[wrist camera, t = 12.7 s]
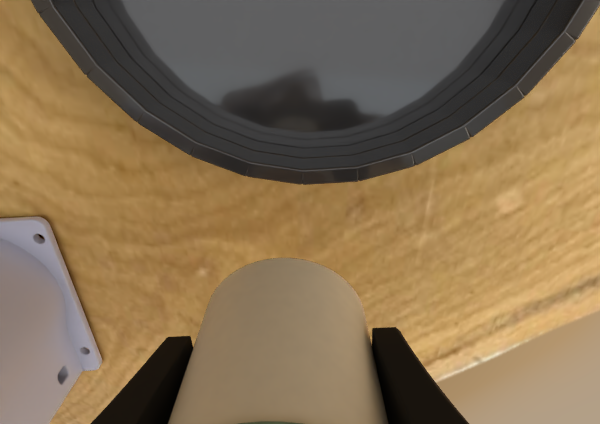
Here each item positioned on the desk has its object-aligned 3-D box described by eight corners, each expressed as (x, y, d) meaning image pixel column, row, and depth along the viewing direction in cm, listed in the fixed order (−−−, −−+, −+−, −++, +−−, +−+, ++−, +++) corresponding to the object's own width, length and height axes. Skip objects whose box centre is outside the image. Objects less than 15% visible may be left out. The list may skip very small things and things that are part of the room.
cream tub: (367, 379, 13) (409, 610, 8) (216, 385, 13) (162, 615, 8) (369, 249, 11) (430, 450, 6) (189, 258, 11) (90, 462, 6)
